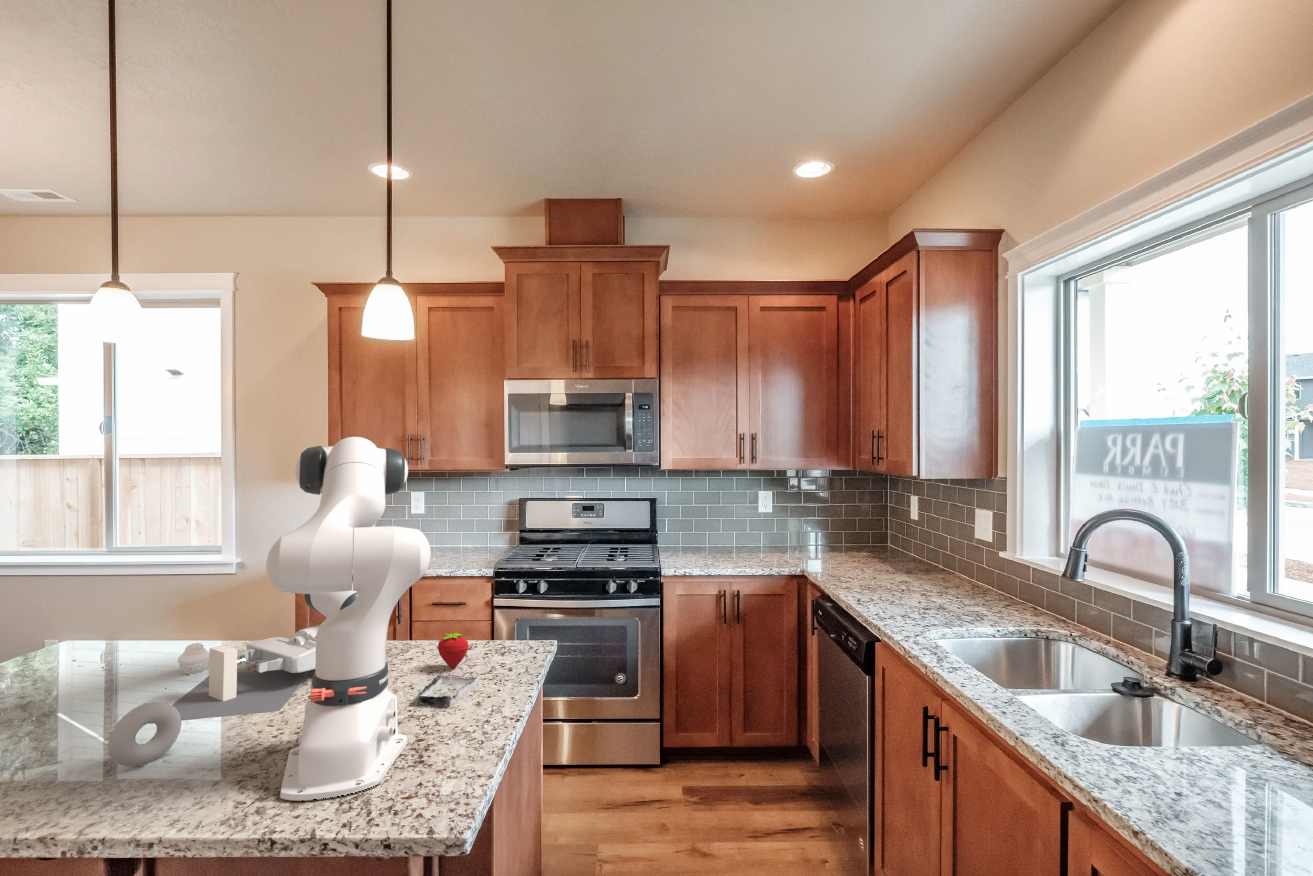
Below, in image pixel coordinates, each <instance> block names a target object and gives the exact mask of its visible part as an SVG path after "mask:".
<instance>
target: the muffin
mask: <svg viewBox="0 0 1313 876" xmlns="http://www.w3.org/2000/svg"><path fill="white" fill-rule="evenodd" d="M209 659H210V651H208V650H207V649H206V648H205V645H204V644H202V643H200V642H194V643H191V644H188V645H187V646H186V647H185V648H184V651H183V652H182V654H180V656H178V658H177V663H178V666H179V668H180V670H181V671H182V672H183V673H184V674H185V675H186V674H193V675H196V674H199V673H202V672H203V671H204V669H205V668H206V666H207V664H208V662H209Z"/></svg>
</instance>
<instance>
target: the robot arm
mask: <svg viewBox="0 0 1313 876" xmlns="http://www.w3.org/2000/svg"><path fill="white" fill-rule="evenodd" d="M295 464H296V465H295V470H294V471H295V477H296V480H297V483H298V485H299V488H300V489H301V490H303V492H304V493H307V494H311V495H317V496H320V495H321V497H320V502H319V506H318V509H316V512H315V513H314V514H313V515H312V516H311V517H310V518H309V519H308V520H307V521H306V522H305V523H303V524H302V525H301V526H298V528H296V529H295V530H291V532H288V533H286V534H283V535H282V536H280V537H279V538H278V539H277V540H276V541H275V542H274V544H273V545H272V546H271V548H270V550H269V552H268V554H267V557H266V563H265V567H266V573H267V577H268V579H269V581H270V582H271V584H272V585H273V587H274V588H275V589H276V590H277V591H279V592H281V593H289V594H290V593H291V594H302V595H304V601H305V603H306V605H307V606H308V607H309V608H310V609H312V610H314V611H316V612H318V613H321V614H322V616H325V619H324V620H323V622H322V623H321V624H318V625H314V626H311V627H306V628H302V629H299V630H297V631H296V632H295V633H294V635H293V636H292V637H291V638H287V637H284V636H274V637H269V638H265V639H264V638H263V639H259V640H254V641H251V642H249V643H247V645H246V651H244V652H242V653H239V654H237V666H238V665H242V664H245V663H246V662H248V661H253V662H257V663H256V664H255V671H258V672H260V673H262V672H265V671H271V670H280V669H281V670H284V671H287V672H290V673H300V672H305V671H309V670H313V671H314V670H315V671H314V673H312V679H311V683H310V696H309V701H308V702H307V703H306V704H305V705H304V719H303V723H302V728H301V729H302V730H301V734H300V735H298V736H297V737H296V743H297V746H295V747H294V748H292V749H290V751H289V753H288V757H287V760H286V765H285V768H284V769H285V770H284V774H283V779H282V784H281V786H280V793H279V798H280V799H282V800H286V801H301V802H302V800H303V801H314V800H313V799H317V800H325V798H326V799H332V797H333V798H338V797H337V796H339V797H342V796H341V795H344V796H348V795H347V794H349V795H351V794H350V793H353V794H356V793H355V792H357V793H359V792H358V791H361V790H364V789H367V788H370V787H372V788H374V787H376V786H375V785H377V784H378V783H379V782H380V780H381V779H382V778H383V779H384V777H385V776H386V775H387V773H388V772H389V770H390V769H391V768H392V766H393V765H392V764H395V762H396V760H397V759H398V757H399V756H400V755H401V753H402V752H403V750H404V749H405V747H406V746H407V745H406V744H408V743H409V742H408V741H409V740H408V736H407V735H405V734H402V733H398V732H399V731H398V730H399V729H398V702H397V699H398V697H397V695H395V694H394V693H392V692H391V690H390V689H389V687H388V685H389V675H390V673H389V664H388V663H387V662H386V659H387V658H386V655H387V653H386V652H387V651H386V650H387V640H388V628H389V625H390V624H389V623H390V619H391V616H392V614H393V611H394V609H395V607H396V605H397V603H398V602H399V600H400V599H401V597H402V596H403V595H404V594H405V593H406V591H407V590H408V589H409V588H410V587H412V586H413V585H414V584H415V583H416V582H418V581H419V580H421V578H423V576H424V574H426V571H427V570H428V568H429V565H430V564H431V563H430V562H431V560H432V558H431V557H432V549H431V545H430V542H429V540H428V539H427V537H426V536H425V534H424V533H423V532H422V531H421V530H420V529H418V528H412V527H405V526H399V525H398V526H397V525H396V526H395V525H382V526H376V525H377V523H378V521H379V520H380V519H381V518H382V516H383V514H384V512H385V509H386V505H387V504H386V495H391V494H396V493H399V492H400V491H401V490H402V489H403V488H404V486H405V483H406V482H407V479H408V475H409V466H408V462H407V460H406V458H405V455H404V453H403V452H402V451H401V450H399V449H395V448H389V447H386V448H380V447H377V445H376V444H375V443H373V441H371V440H369V439H368V438H365V437H360V436H348V437H345V438H342V439H340V440H339V441H337V442H336V443H334V445H331V446H330V445H329V446H322V445H316V446H312V447H307V448H306V449H305V450H303V451H302V452H301V453H300V456H299V457H298V459H297V462H296V463H295ZM403 748H404V749H403ZM396 758H397V759H396ZM395 759H396V760H395ZM394 761H395V762H394ZM391 765H392V766H391ZM389 768H390V769H389ZM388 769H389V770H388ZM387 771H388V772H387ZM385 774H386V775H385ZM384 775H385V776H384ZM383 779H382V780H383ZM382 780H381V781H382ZM380 783H381V782H380ZM380 783H379V784H380ZM379 784H378V785H379ZM378 785H377V786H378ZM373 786H374V787H373ZM370 789H371V788H370ZM367 790H368V789H367ZM364 791H365V790H364ZM361 792H362V791H361ZM330 797H331V798H330ZM323 798H324V799H323Z"/></svg>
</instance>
